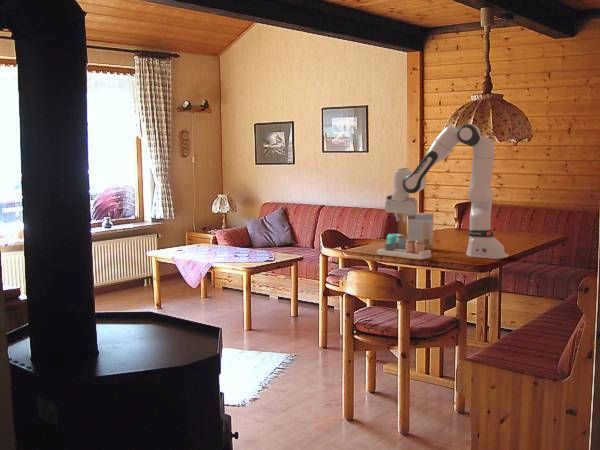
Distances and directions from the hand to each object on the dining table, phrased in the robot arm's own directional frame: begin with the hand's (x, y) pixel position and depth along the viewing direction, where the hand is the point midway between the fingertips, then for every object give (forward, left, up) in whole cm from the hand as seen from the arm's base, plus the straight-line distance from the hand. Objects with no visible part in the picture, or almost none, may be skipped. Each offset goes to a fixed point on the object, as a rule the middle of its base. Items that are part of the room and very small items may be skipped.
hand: (401, 221), depth 400 cm
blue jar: (0, 0, -17) cm, 17 cm away
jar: (-16, +14, -17) cm, 27 cm away
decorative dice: (+10, -8, -18) cm, 22 cm away
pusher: (-2, +11, -17) cm, 21 cm away
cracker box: (-4, -14, -17) cm, 23 cm away
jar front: (-22, +14, -17) cm, 31 cm away
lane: (-11, +14, -17) cm, 25 cm away
